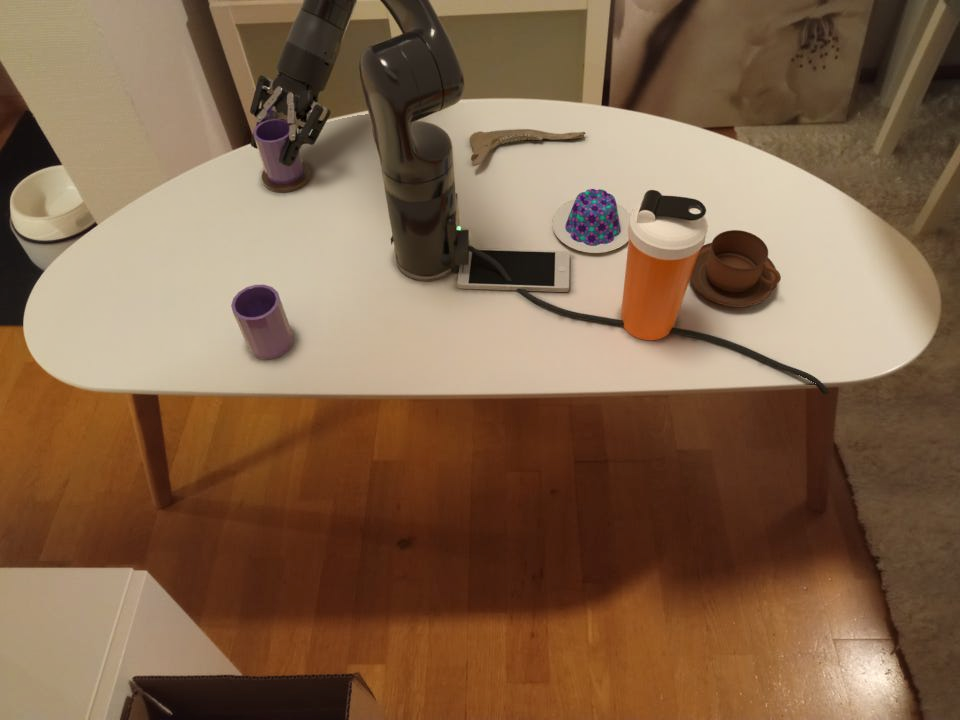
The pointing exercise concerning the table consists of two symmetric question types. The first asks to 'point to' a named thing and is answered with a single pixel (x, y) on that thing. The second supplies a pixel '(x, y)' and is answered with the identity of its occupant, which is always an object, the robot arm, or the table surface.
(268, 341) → the cup
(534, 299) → the robot arm
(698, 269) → the cup and saucer
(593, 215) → the pudding
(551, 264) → the smartphone
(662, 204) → the shaker bottle
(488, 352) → the table surface
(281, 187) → the coaster
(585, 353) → the table surface
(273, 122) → the cup
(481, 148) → the jawbone
